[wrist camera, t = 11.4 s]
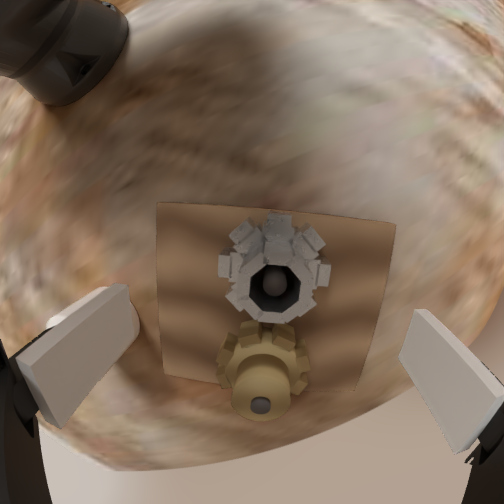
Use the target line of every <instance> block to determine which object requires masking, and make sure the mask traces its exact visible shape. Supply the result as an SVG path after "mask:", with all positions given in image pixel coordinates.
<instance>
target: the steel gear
mask: <svg viewBox="0 0 504 504" xmlns="http://www.w3.org/2000/svg"><path fill="white" fill-rule="evenodd" d="M291 220H292V215H291V214H290V213H289V212H279V211H268V216H267V221H264V222H263V227H262V226H261V224H260V223H257V224H255V223H254V222H253V220H252V219H251V218H250V217H248V218H247V219H246V220H245V221H244V222H242V223H241V224H240V225H239V226H238V227H237V228H235V229H234V230H233V231H232V232H231V233H230V234H229V235H228V236H229V237H230V238H231V239H232V241H233V242H234V243H235V245H234V246H233V248H229V247H225V248H224V249H223V250H222V252H221V253H220V254H219V259H218V277H223V278H229V282H232V283H231V284H230V286H229V288H228V290H227V293H226V295H225V297H226V298H227V299H228V300H229V301H230V302H231V303H232V304H233V305H234V307H235V308H236V309H237V310H238V311H239V312H240V311H242V310H243V309H245V310H246V311H247V312H248V313H249V314H250V315H251V316H252V318H253V319H254V320H257V319H258V322H268V323H280V324H285V322H286V323H288V322H289V321H291V320H292V319H294V318H295V317H296V316H299V317H301V316H302V315H303V314H305V313H306V312H308V311H309V310H310V309H312V308H313V307H314V306H316V305H317V302H316V300H315V297H314V295H313V291H312V290H313V289H317V286H325V287H328V284H329V278H330V271H331V264H330V262H329V261H328V260H327V259H326V257H325V256H319V253H318V252H317V251H319V250H320V249H321V248H322V247H324V246H325V245H326V244H325V242H324V241H323V240H322V239H321V237H320V236H319V235H318V233H317V232H316V231H315V230H314V228H313V227H312V226H311V225H310V224H309V223H308V222H306V223H305V224H304V225H302V226H301V227H300V228H298V227H297V226H296V227H294V226H293V224H292V223H291ZM266 264H270V265H281V266H288V267H289V268H290V269H291V271H290V272H289V273H287V274H286V281H287V288H286V290H285V291H284V293H282V294H281V295H278V296H272V295H269V294H268V293H266V292H265V290H264V288H263V280H264V276H263V275H262V274H261V273H260V272H259V270H260V269H261V268H263V267H264V266H265V265H266Z"/></svg>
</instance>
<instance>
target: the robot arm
mask: <svg viewBox="0 0 504 504" xmlns="http://www.w3.org/2000/svg"><path fill="white" fill-rule="evenodd" d="M127 30H128V25H127V20H126V17H125V16H124V14H123V13H122V12H121V11H120V10H119V9H118V8H117V7H116V6H114V5H113V4H111V3H108V2H103V1H100V0H0V75H1V76H5V77H9V78H12V79H15V80H16V81H18V82H19V83H20V84H21V85H22V86H23V87H24V88H25V89H26V90H27V91H28V92H29V93H30V94H31V95H32V96H33V97H34V98H35V99H37V100H38V101H40V102H42V103H45V104H48V105H52V106H63V105H67V104H70V103H72V102H74V101H76V100H77V99H79V98H81V97H82V96H83V95H85V94H86V93H87V92H89V91H90V90H91V89H92V88H93V87H94V86H95V85H96V84H97V83H98V82H99V81H100V80H101V79H102V78H103V77H104V76H105V74H106V73H107V72H108V71H109V69H110V68H111V67H112V65H113V64H114V62H115V61H116V59H117V57H118V56H119V54H120V52H121V50H122V48H123V45H124V43H125V40H126V36H127ZM133 338H134V331H133V324H132V316H131V307H130V297H129V286H128V285H125V284H119V283H114V284H112V285H111V286H109V287H108V288H107V289H105V290H104V291H102V292H101V293H99V294H98V295H97V296H95V297H94V298H92V299H91V300H90V301H88V302H87V303H86V304H84V305H83V306H81V307H80V308H79V309H77V310H76V311H75V312H73V313H72V314H71V315H69V316H68V317H67V318H65V319H64V320H63V321H61V322H60V323H59V324H57V325H55V326H53V327H51V328H48V329H46V330H45V331H43V332H42V333H41V334H40V335H38V337H36V338H34V339H33V340H32V342H29V343H28V344H27V345H25V346H24V347H23V348H22V349H20V350H19V351H18V352H17V353H15V354H14V355H13V356H12V357H11V358H9V359H8V357H7V355H6V352H5V350H4V347H3V344H2V341H1V339H0V504H52V500H51V496H50V493H49V489H48V484H47V480H46V475H45V471H44V465H43V459H42V453H41V445H40V437H39V427H38V420H37V417H36V415H35V414H36V413H37V411H38V410H40V412H41V414H42V415H43V417H44V419H45V421H47V422H48V423H50V424H52V425H54V426H56V427H57V428H59V429H62V428H63V426H64V425H65V424H66V422H67V421H68V420H69V418H70V417H71V416H72V414H73V413H74V412H75V410H76V409H77V408H78V407H79V405H80V404H81V403H82V401H83V400H84V399H85V397H86V396H87V395H88V394H89V392H90V391H91V390H92V389H93V387H94V386H95V385H96V383H97V382H98V381H99V380H100V378H101V377H102V376H103V375H104V373H105V372H106V371H107V370H108V368H109V367H110V366H111V365H112V363H113V362H114V361H115V360H116V358H117V357H118V356H119V355H120V354H121V352H122V351H123V350H124V349H125V347H126V346H127V345H128V344H129V343H130V341H131V340H132V339H133ZM398 359H399V360H400V362H401V364H402V365H403V367H404V368H405V370H406V371H407V373H408V375H409V376H410V378H411V379H412V381H413V383H414V384H415V386H416V388H417V389H418V391H419V392H420V394H421V396H422V397H423V399H424V401H425V402H426V404H427V406H428V407H429V409H430V411H431V413H432V414H433V416H434V418H435V420H436V421H437V423H438V425H439V427H440V429H441V430H442V432H443V434H444V436H445V438H446V440H447V442H448V443H449V445H450V447H451V449H452V451H453V453H454V454H458V453H460V452H463V451H465V450H467V449H469V448H470V447H471V445H472V444H473V443H474V442H475V440H476V439H477V438H478V439H479V441H480V444H479V445H478V446H477V447H476V448H475V450H474V451H473V452H472V453H471V454H470V455H469V456H468V458H467V459H466V460H465V463H467V462H468V461H469V460H470V459H471V458H472V457H474V459H473V460H472V461H471V463H470V464H471V465H472V469H471V473H470V477H469V480H468V485H467V487H466V491H465V494H464V497H463V500H462V503H461V504H504V385H503V384H502V383H501V382H500V381H499V380H498V378H497V377H495V376H494V374H493V373H492V372H491V371H489V369H488V368H487V367H486V366H485V364H484V363H483V362H481V361H480V360H479V359H478V358H477V357H476V356H475V355H474V354H473V353H472V352H471V351H470V350H469V349H468V348H467V347H466V346H465V345H464V344H463V343H462V342H461V341H460V340H459V339H458V338H457V337H456V336H455V335H454V334H453V333H452V332H451V331H450V330H449V329H447V328H446V327H445V326H444V325H443V324H442V323H441V322H440V321H439V320H438V319H437V318H436V317H435V316H434V315H433V314H431V313H430V312H429V311H428V310H427V309H414V312H413V316H412V319H411V322H410V325H409V328H408V331H407V334H406V337H405V340H404V343H403V346H402V348H401V351H400V354H399V356H398Z"/></svg>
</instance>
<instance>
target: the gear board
mask: <svg viewBox="0 0 504 504" xmlns="http://www.w3.org/2000/svg"><path fill="white" fill-rule="evenodd" d="M268 211H279V212H289V213H290V214H291V215H292V220H291V223H292V224H293V226H294V227H296V226H297V227H298V228H300V227H301V226H302V225H304V224H305V223H306V222H308V223H309V224H310V225H311V226H312V227H313V228H314V230H315V231H316V232H317V233H318V235H319V236H320V237H321V239H322V240H323V241H324V242H325V244H326V245H325V246H324V247H322V248H321V249H320V250H319V251H317V252H318V253H319V256H325V257H326V259H327V260H328V261H329V262H330V264H331V271H330V278H329V284H328V287H325V286H317V289H313V290H312V291H313V295H314V297H315V300H316V302H317V305H316V306H314V307H313V308H312V309H310V310H309V311H308V312H306V313H305V314H303V315H302V316H301V317H299V316H296V317H295V318H294V319H292V320H291V321H289V322H288V323H286V322H285V324H280V323H268V322H258V319H257V320H254V319H253V318H252V316H251V315H250V314H249V313H248V312H247V311H246V310H245V309H243V310H242V311H240V312H239V311H238V310H237V309H236V308H235V307H234V305H233V304H232V303H231V302H230V301H229V300H228V299H227V298H226V297H225V295H226V293H227V290H228V288H229V286H230V284H231V283H232V282H229V278H223V277H218V259H219V254H220V253H221V252H222V250H223V249H224V248H225V247H229V248H233V246H234V245H235V243H234V242H233V241H232V239H231V238H230V237H229V236H228V235H229V234H230V233H231V232H232V231H233V230H234V229H235V228H237V227H238V226H239V225H240V224H241V223H242V222H244V221H245V220H246V219H247V218H248V217H250V218H251V219H252V220H253V222H254V223H255V224H257V223H260V224H261V226H262V227H263V222H264V221H267V216H268ZM395 230H396V225H395V224H392V223H387V222H380V221H373V220H366V219H358V218H350V217H342V216H334V215H325V214H316V213H307V212H297V211H287V210H276V209H265V208H253V207H240V206H227V205H211V204H194V203H174V202H160V203H157V235H156V258H157V294H158V313H159V328H160V340H161V350H162V360H163V369H164V374H167V375H172V376H177V377H182V378H187V379H193V380H198V381H204V382H211V383H218V384H220V386H221V388H222V389H225V388H233V392H232V397H231V404H232V407H233V408H234V410H235V411H236V412H237V413H238V414H239V415H241V416H242V417H244V418H247V419H249V420H253V421H270V420H274V419H277V418H279V417H281V416H282V415H284V414H285V413H286V412H287V411H288V409H289V407H290V403H291V400H290V393H292V394H295V395H299V394H300V393H301V391H355V388H356V386H357V383H358V380H359V378H360V375H361V372H362V369H363V366H364V363H365V360H366V357H367V354H368V351H369V347H370V344H371V341H372V337H373V334H374V330H375V327H376V323H377V319H378V316H379V312H380V308H381V304H382V299H383V295H384V291H385V286H386V282H387V277H388V272H389V267H390V261H391V256H392V250H393V244H394V237H395ZM290 271H291V269H290V268H289V267H288V266H281V265H270V264H266V265H265V266H264V267H263V268H261V269H260V270H259V272H260V273H261V274H262V275H263V276H264V280H263V288H264V290H265V292H266V293H268V294H269V295H272V296H278V295H281V294H282V293H284V291H285V290H286V288H287V281H286V274H287V273H289V272H290Z"/></svg>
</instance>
